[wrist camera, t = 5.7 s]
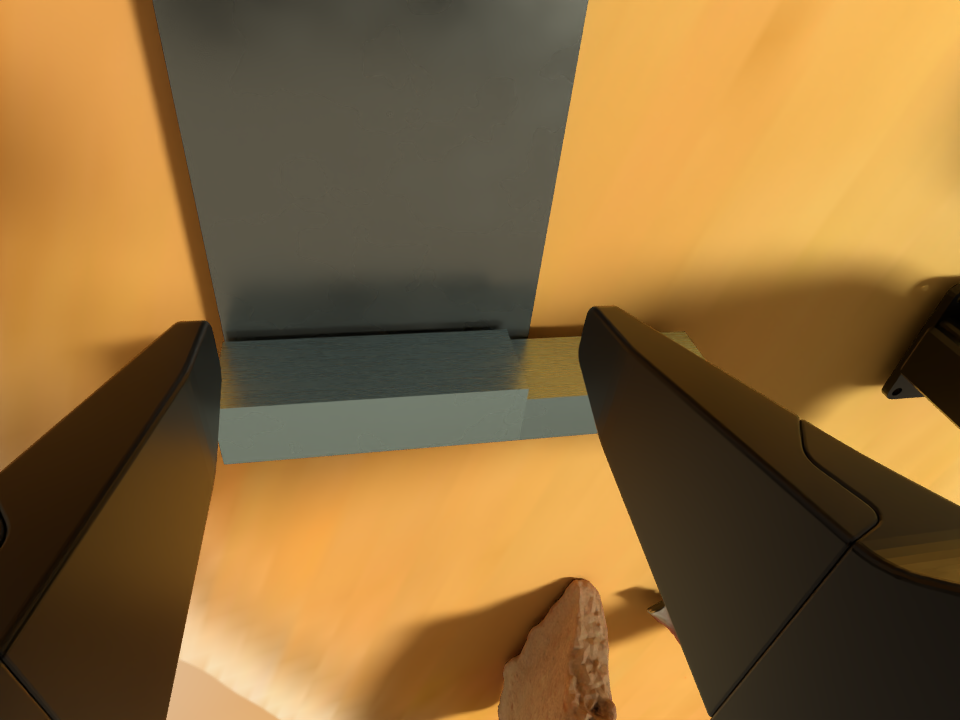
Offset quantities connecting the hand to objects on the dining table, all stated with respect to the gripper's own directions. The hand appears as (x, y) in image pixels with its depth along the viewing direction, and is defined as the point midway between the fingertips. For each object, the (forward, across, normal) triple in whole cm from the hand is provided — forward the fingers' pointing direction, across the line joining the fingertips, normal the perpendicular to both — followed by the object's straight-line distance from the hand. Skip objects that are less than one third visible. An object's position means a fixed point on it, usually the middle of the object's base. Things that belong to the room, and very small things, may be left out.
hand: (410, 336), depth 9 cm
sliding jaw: (+11, 0, +8) cm, 14 cm away
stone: (+12, -10, +37) cm, 40 cm away
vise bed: (+11, 0, +2) cm, 12 cm away
